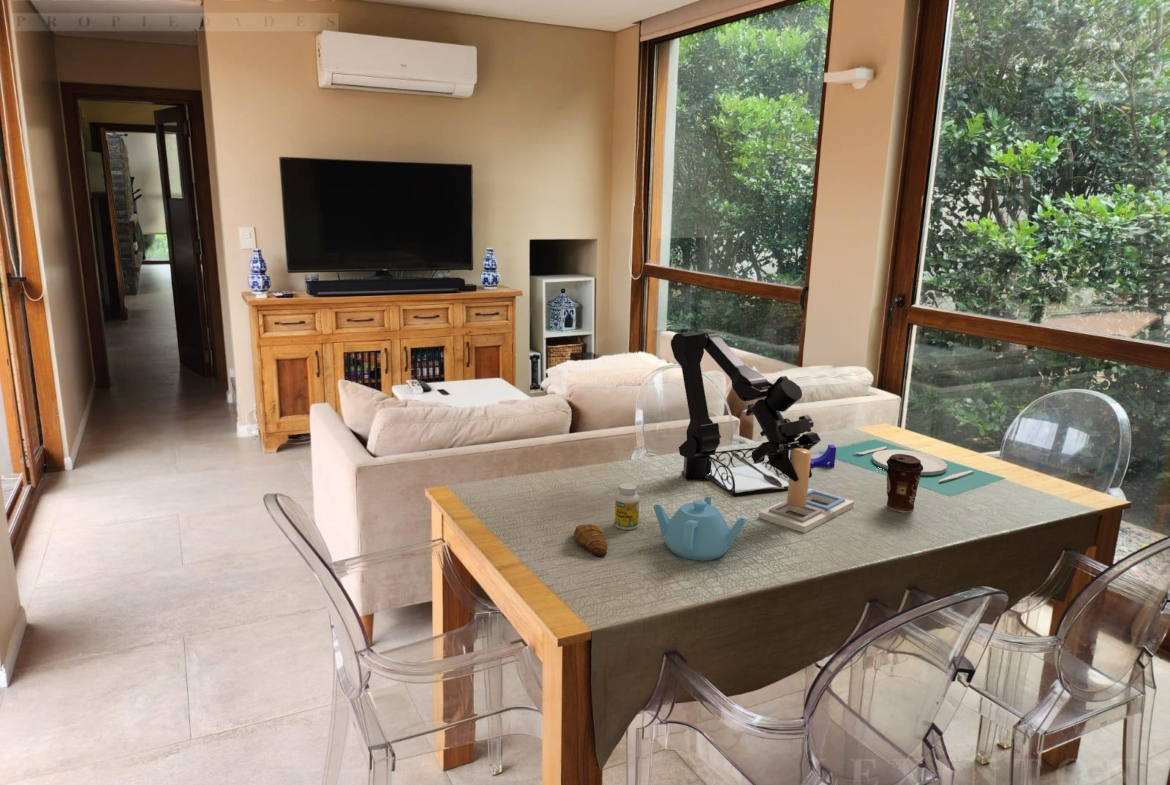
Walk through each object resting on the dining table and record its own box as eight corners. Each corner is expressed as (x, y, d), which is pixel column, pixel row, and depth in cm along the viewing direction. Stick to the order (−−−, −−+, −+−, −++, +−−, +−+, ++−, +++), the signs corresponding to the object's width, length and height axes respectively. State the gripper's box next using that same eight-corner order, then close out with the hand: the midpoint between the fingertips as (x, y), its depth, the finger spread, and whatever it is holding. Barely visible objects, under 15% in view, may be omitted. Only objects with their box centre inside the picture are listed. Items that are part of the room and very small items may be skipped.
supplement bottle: (640, 523, 187) (642, 483, 185) (634, 532, 182) (636, 491, 180) (618, 520, 188) (619, 480, 186) (611, 528, 183) (613, 488, 181)
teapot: (647, 539, 178) (650, 493, 176) (706, 530, 184) (709, 485, 182) (683, 569, 165) (686, 519, 162) (745, 557, 171) (749, 509, 168)
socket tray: (804, 532, 184) (805, 524, 184) (758, 517, 192) (759, 509, 192) (853, 506, 201) (854, 498, 201) (809, 493, 209) (810, 486, 209)
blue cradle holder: (792, 467, 230) (794, 447, 229) (789, 462, 235) (791, 442, 233) (835, 469, 230) (837, 449, 228) (831, 464, 234) (833, 444, 233)
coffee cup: (874, 507, 202) (880, 457, 198) (888, 498, 207) (894, 450, 204) (909, 517, 196) (916, 465, 193) (923, 508, 202) (929, 458, 199)
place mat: (811, 454, 245) (812, 447, 244) (873, 440, 262) (874, 433, 261) (951, 501, 209) (952, 493, 209) (1012, 481, 226) (1013, 473, 226)
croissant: (563, 536, 179) (563, 514, 178) (591, 532, 182) (592, 511, 180) (587, 561, 167) (588, 538, 166) (617, 556, 170) (618, 534, 168)
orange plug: (791, 507, 190) (796, 454, 186) (784, 500, 194) (789, 448, 191) (809, 507, 190) (814, 454, 187) (801, 500, 194) (806, 448, 191)
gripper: (765, 409, 184) (799, 469, 178) (818, 399, 195) (852, 456, 189) (737, 433, 192) (768, 492, 186) (789, 423, 203) (821, 478, 197)
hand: (803, 479), depth 189 cm, fingers closed on orange plug, 4 cm apart
